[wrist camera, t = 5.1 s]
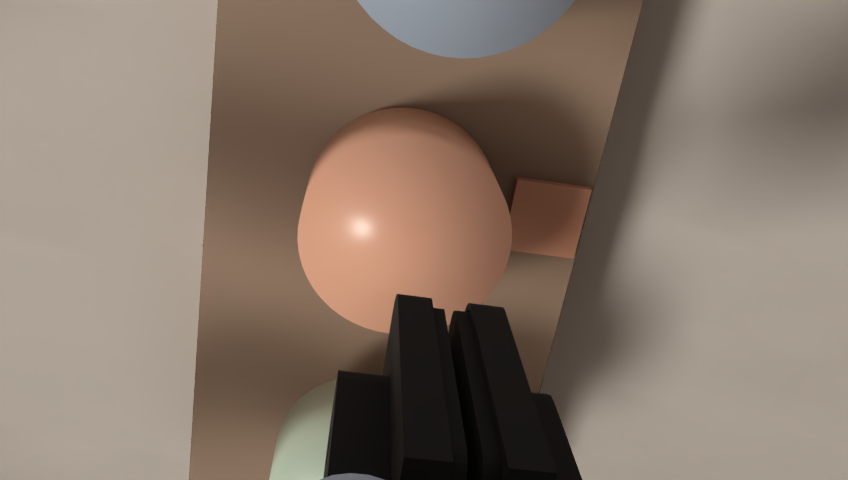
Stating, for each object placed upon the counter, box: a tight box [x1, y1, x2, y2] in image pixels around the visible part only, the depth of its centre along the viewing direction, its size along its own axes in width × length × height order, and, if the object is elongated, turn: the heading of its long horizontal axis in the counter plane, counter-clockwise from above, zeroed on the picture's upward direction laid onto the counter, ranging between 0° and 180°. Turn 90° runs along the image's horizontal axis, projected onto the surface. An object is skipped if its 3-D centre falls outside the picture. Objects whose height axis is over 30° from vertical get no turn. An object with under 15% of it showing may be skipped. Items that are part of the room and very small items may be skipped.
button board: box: [189, 0, 643, 480], centre depth 19 cm, size 18×9×2 cm, turn 171°
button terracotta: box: [297, 108, 512, 333], centre depth 17 cm, size 4×4×2 cm
